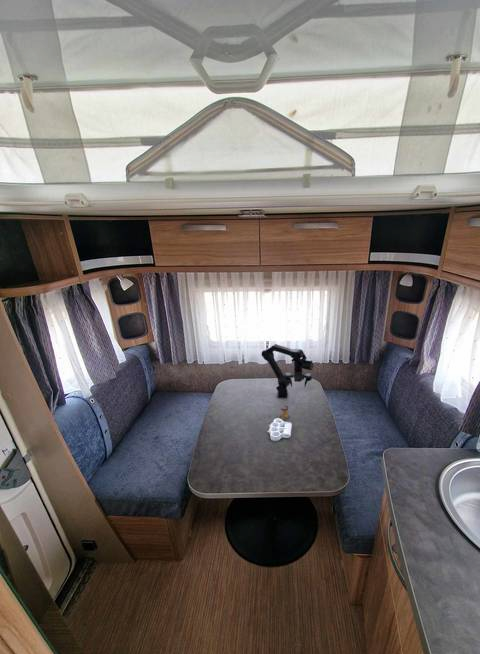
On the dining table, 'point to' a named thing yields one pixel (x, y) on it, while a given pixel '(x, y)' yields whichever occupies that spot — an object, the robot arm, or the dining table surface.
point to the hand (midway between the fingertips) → (298, 386)
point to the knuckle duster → (279, 429)
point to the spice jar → (284, 412)
